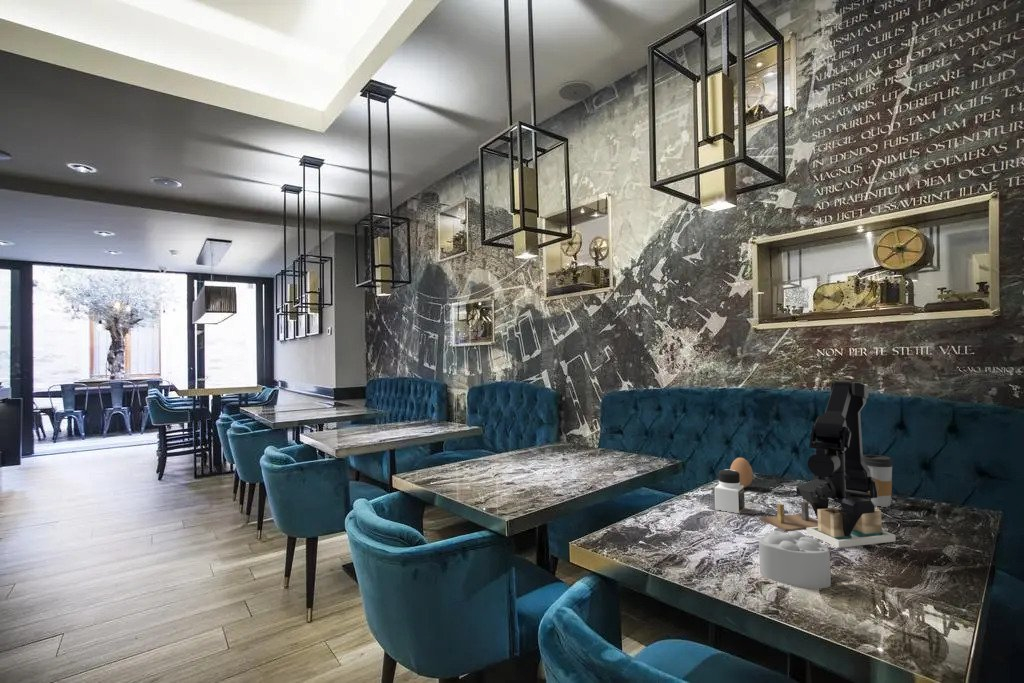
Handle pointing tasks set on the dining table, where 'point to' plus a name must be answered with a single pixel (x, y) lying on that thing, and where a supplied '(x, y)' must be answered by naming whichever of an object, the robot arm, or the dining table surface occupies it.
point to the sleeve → (868, 525)
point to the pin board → (791, 519)
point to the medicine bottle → (729, 492)
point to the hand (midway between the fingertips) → (834, 531)
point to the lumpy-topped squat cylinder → (794, 560)
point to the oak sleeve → (831, 523)
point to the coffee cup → (880, 478)
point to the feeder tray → (854, 540)
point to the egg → (743, 471)
